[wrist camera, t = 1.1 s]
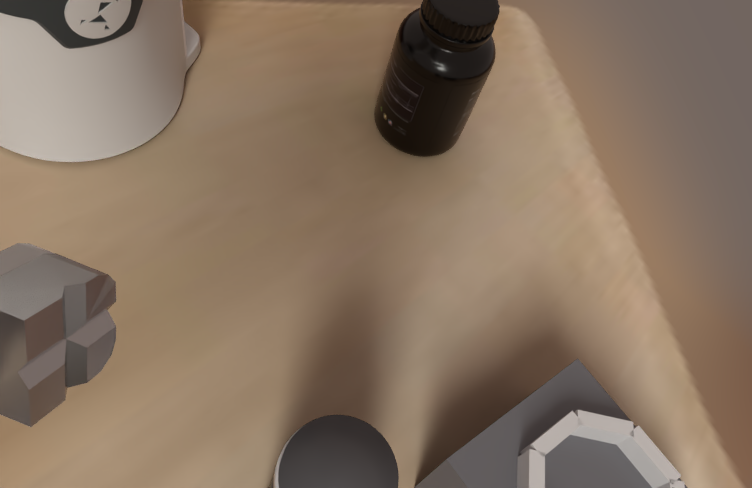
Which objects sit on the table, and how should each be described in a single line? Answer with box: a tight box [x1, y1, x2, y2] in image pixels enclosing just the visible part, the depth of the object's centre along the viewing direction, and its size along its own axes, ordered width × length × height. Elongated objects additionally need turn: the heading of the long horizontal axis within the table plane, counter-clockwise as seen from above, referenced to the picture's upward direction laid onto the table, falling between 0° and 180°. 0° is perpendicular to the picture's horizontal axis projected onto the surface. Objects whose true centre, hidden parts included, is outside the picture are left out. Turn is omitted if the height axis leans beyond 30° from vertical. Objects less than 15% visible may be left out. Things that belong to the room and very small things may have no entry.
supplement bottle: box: [375, 0, 500, 157], centre depth 50 cm, size 7×7×12 cm
